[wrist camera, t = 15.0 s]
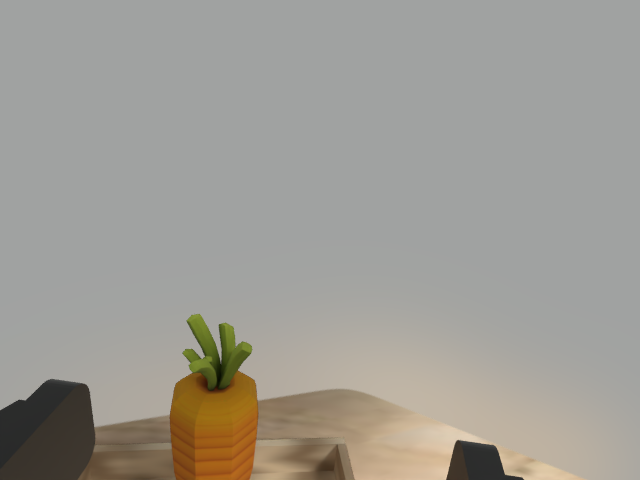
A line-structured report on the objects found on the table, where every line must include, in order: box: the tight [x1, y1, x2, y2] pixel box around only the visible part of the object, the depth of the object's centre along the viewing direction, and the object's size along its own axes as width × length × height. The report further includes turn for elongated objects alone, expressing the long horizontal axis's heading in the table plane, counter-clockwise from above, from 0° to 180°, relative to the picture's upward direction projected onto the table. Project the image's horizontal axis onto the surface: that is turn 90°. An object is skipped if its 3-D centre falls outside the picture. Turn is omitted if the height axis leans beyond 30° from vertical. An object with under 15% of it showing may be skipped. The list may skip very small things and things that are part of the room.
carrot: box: [170, 314, 258, 480], centre depth 27 cm, size 5×5×15 cm
